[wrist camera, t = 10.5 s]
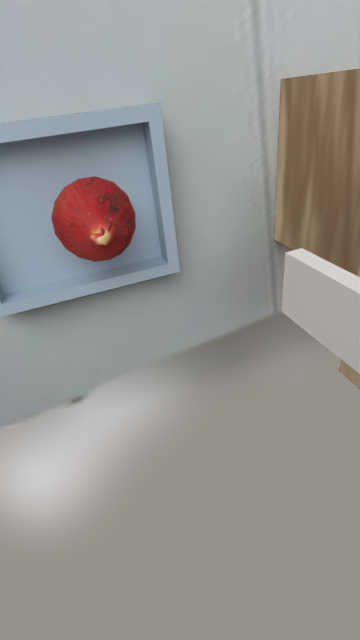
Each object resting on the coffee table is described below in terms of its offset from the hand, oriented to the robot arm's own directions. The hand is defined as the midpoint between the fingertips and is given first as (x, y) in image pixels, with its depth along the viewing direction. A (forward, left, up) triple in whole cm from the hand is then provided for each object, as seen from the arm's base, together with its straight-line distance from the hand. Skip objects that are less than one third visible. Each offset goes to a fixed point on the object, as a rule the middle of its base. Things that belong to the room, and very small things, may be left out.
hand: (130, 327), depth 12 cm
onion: (+1, 0, -19) cm, 19 cm away
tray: (-1, 0, -20) cm, 20 cm away
